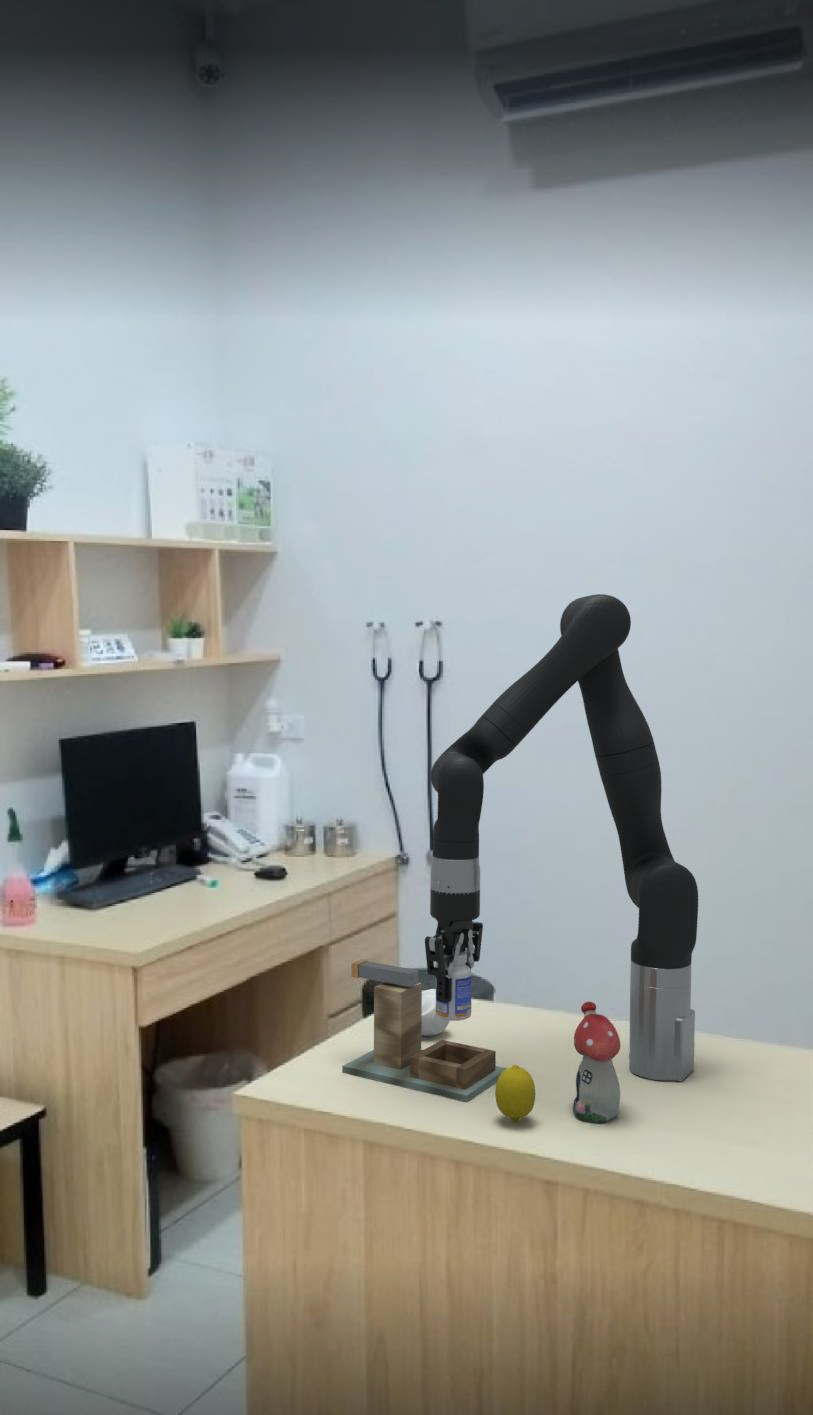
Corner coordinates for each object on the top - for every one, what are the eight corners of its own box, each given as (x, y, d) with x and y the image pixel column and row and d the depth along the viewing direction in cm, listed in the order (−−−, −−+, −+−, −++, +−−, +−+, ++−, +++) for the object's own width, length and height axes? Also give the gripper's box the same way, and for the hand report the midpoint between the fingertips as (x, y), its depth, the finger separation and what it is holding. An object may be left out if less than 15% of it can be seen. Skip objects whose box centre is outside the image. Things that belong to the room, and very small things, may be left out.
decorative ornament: (572, 1098, 166) (573, 997, 166) (617, 1101, 165) (619, 999, 165) (573, 1124, 157) (574, 1016, 156) (621, 1127, 156) (622, 1019, 156)
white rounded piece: (401, 1028, 197) (401, 984, 197) (443, 1025, 199) (443, 982, 199) (412, 1044, 190) (412, 998, 189) (456, 1040, 191) (456, 995, 191)
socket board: (507, 1074, 176) (508, 991, 175) (466, 1102, 165) (467, 1013, 164) (388, 1048, 187) (388, 969, 187) (342, 1072, 176) (342, 988, 176)
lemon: (540, 1118, 159) (541, 1061, 159) (527, 1132, 154) (528, 1074, 154) (503, 1111, 162) (503, 1055, 161) (489, 1125, 157) (489, 1068, 156)
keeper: (419, 983, 178) (419, 969, 178) (409, 987, 175) (409, 973, 175) (361, 972, 184) (361, 959, 183) (351, 976, 181) (351, 963, 181)
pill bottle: (471, 1011, 175) (472, 948, 175) (470, 1022, 170) (471, 957, 170) (436, 1009, 176) (437, 947, 176) (434, 1020, 171) (434, 956, 170)
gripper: (453, 897, 164) (451, 1013, 165) (499, 881, 176) (497, 989, 177) (409, 890, 168) (407, 1004, 169) (457, 875, 180) (455, 981, 181)
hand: (453, 996), depth 173 cm, fingers closed on pill bottle, 5 cm apart
